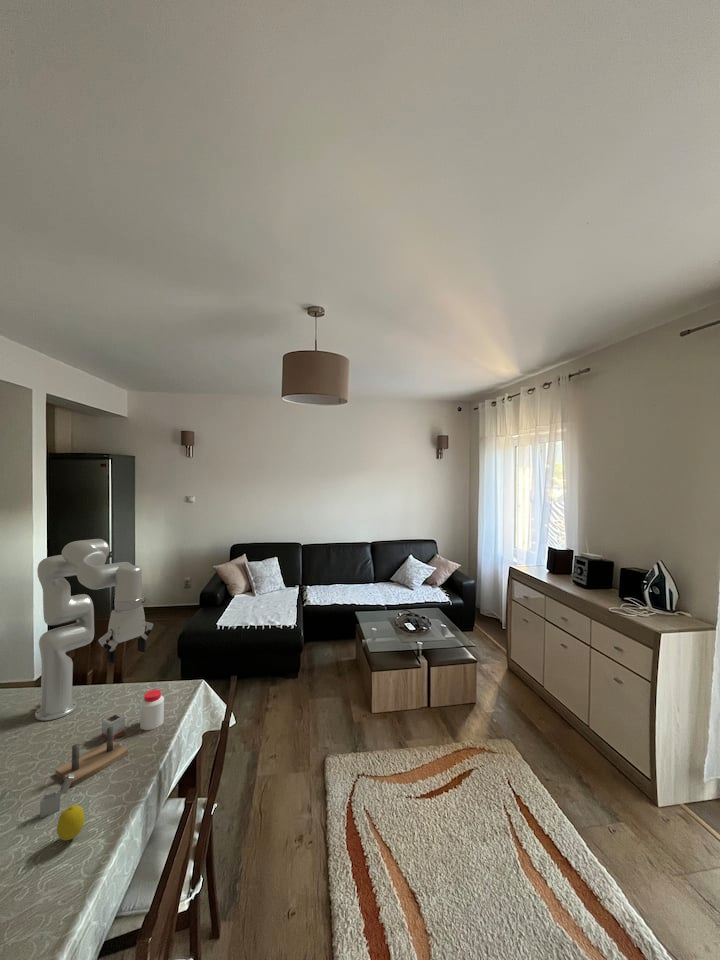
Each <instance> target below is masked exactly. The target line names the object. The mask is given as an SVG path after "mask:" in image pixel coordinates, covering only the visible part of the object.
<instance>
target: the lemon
mask: <svg viewBox="0 0 720 960" xmlns="http://www.w3.org/2000/svg"><path fill="white" fill-rule="evenodd" d="M85 819H86V817H85V810H84V809H83V807H82V806H81V805H78V804H77V805H76V804H75V805H71V806H69V807H67V808H66V809H64V811H63V812H62V813H61V814H60V815H59V817H58V821H57V824H56V834H57V836H58V838H60V840H63V841H69V840H72V839H74V838H75V837H77V836H78V834H79V833H80V832H81V831H82V829H83V827H84V824H85Z"/></svg>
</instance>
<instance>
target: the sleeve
mask: <svg viewBox="0 0 720 960" xmlns="http://www.w3.org/2000/svg"><path fill="white" fill-rule="evenodd" d="M109 727H114V733H113V741H115V740H116V739H118V738H120V737H121V736H124V735H125V734H126V733H125V732H126V729H125V727H126V716H125V715H123V714H121V713H119V712H115V713H113V714H111V715H109V716H106V717H104V718H102V719H101V738H103V739H104V740H106V741H107V728H109Z"/></svg>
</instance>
